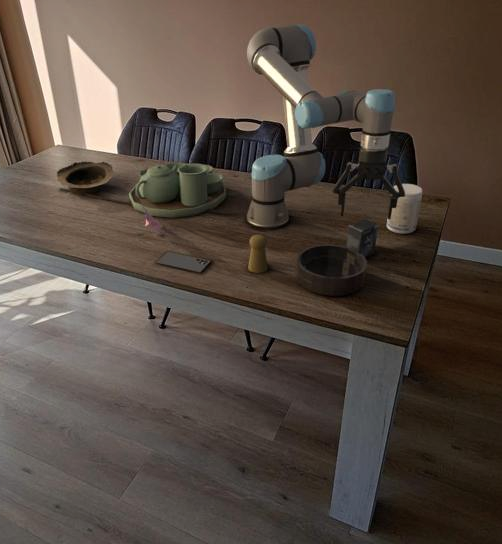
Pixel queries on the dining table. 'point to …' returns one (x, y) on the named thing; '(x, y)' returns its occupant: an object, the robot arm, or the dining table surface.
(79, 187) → the stone bowl
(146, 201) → the tea set
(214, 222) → the dining table surface
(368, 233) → the box
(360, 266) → the bowl
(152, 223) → the lily
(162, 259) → the smartphone
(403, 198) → the supplement tub
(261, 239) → the cork
